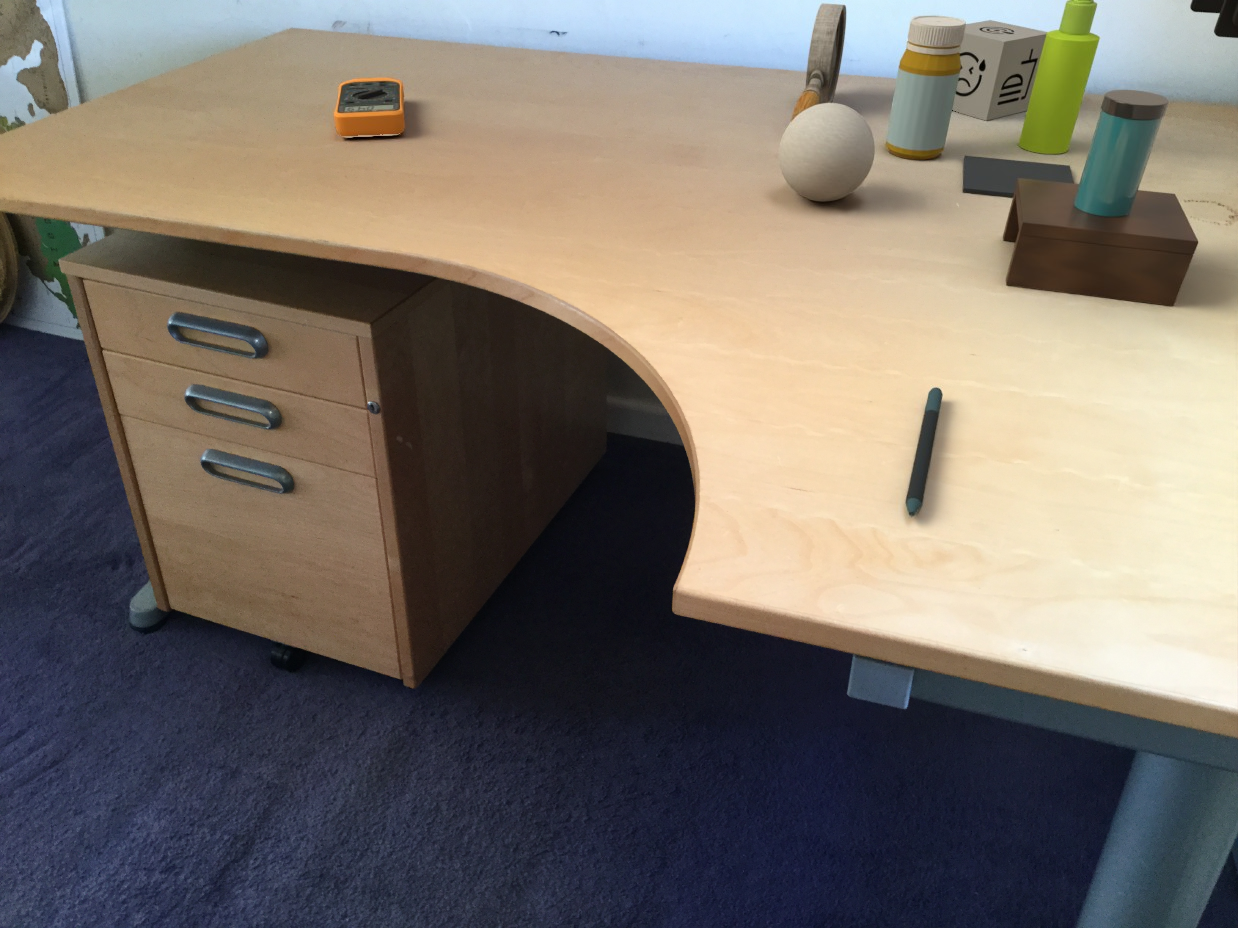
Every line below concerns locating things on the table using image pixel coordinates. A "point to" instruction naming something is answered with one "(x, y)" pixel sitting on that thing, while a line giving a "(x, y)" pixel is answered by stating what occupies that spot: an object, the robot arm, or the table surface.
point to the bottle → (925, 87)
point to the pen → (924, 452)
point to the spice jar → (1119, 152)
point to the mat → (1007, 174)
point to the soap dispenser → (1061, 81)
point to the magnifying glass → (823, 57)
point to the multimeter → (370, 107)
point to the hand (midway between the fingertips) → (1223, 24)
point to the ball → (826, 152)
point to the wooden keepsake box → (1098, 245)
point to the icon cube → (997, 69)
